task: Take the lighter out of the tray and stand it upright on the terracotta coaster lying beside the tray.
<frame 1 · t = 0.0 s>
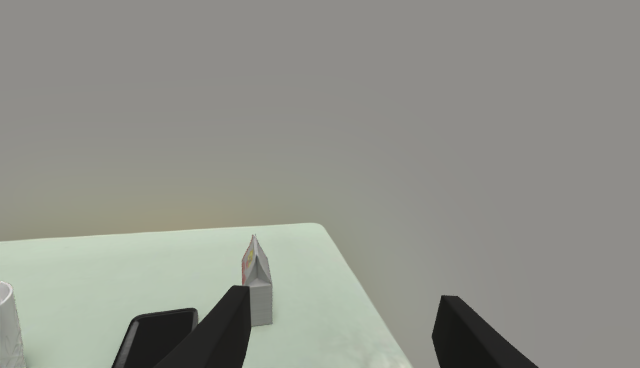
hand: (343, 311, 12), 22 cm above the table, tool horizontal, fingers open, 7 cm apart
phone: (155, 365, 34), on the table
milk carton: (256, 309, 43), on the table
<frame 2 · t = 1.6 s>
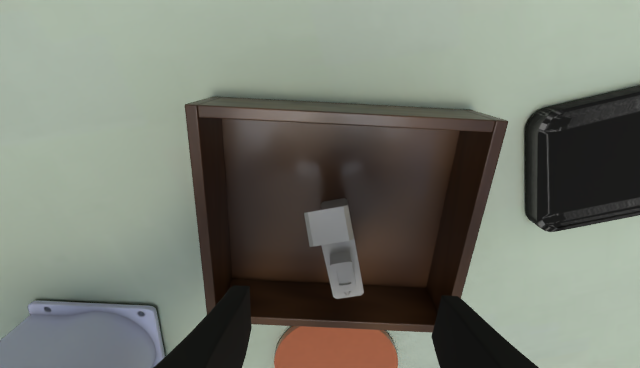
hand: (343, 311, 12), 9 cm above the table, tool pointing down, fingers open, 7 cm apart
coaster: (335, 359, 25), on the table
tray: (334, 205, 20), on the table
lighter: (334, 206, 20), resting on tray
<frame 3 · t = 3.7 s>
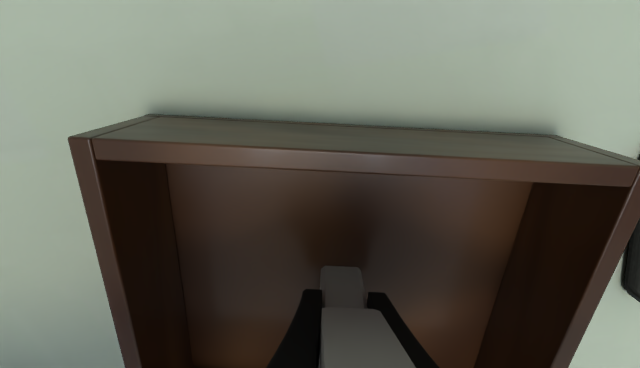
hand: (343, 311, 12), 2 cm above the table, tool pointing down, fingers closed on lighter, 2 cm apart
tray: (340, 271, 14), on the table
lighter: (340, 274, 14), resting on tray, touching gripper
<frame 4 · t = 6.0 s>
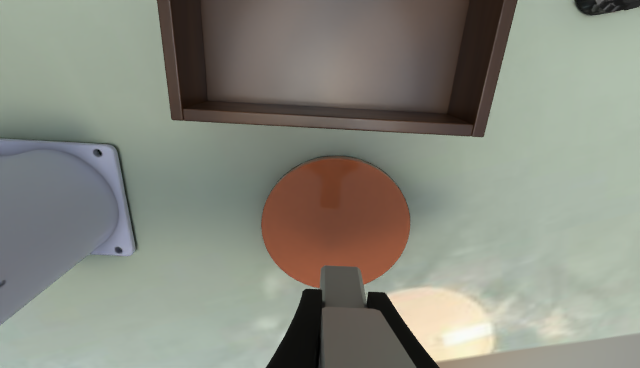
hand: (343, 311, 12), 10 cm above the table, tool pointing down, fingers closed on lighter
coaster: (335, 225, 21), on the table
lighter: (339, 274, 14), point 8 cm above the table, touching gripper
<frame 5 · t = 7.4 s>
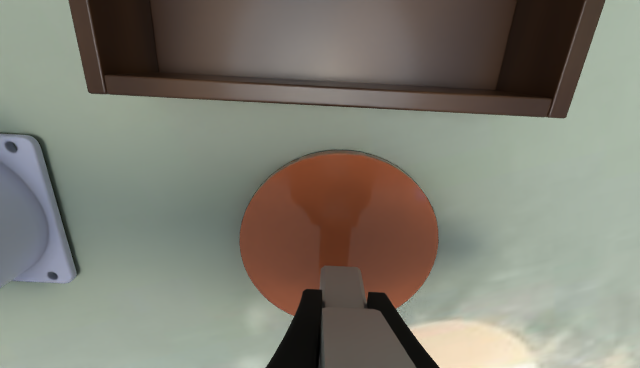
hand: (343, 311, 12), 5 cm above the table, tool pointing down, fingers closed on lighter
coaster: (337, 242, 16), on the table
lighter: (339, 274, 14), point 3 cm above the table, touching gripper
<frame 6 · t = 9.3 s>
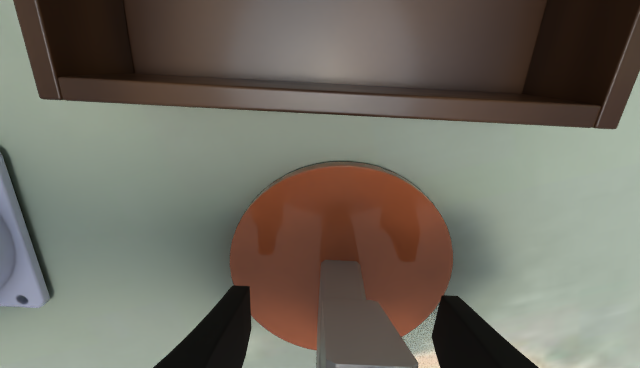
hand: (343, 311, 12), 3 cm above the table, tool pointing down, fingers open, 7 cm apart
coaster: (339, 263, 14), on the table
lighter: (339, 268, 14), resting on coaster
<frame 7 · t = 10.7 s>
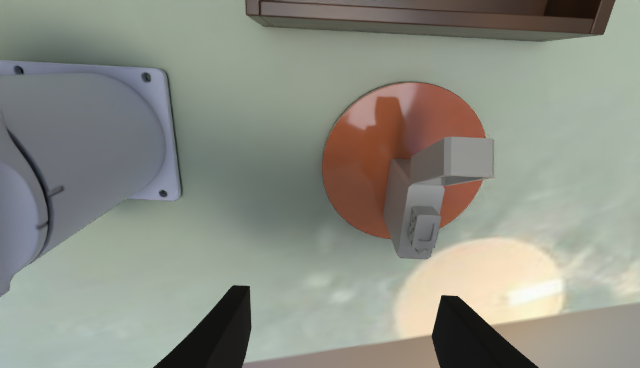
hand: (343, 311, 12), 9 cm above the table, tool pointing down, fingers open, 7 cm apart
coaster: (401, 165, 19), on the table
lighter: (402, 167, 19), resting on coaster
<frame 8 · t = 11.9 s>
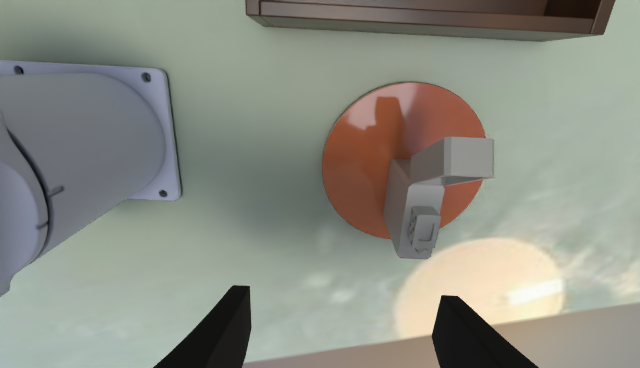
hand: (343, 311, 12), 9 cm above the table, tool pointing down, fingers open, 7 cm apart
coaster: (401, 165, 19), on the table
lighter: (402, 167, 19), resting on coaster
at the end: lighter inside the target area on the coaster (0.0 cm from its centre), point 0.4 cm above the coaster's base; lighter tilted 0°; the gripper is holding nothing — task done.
